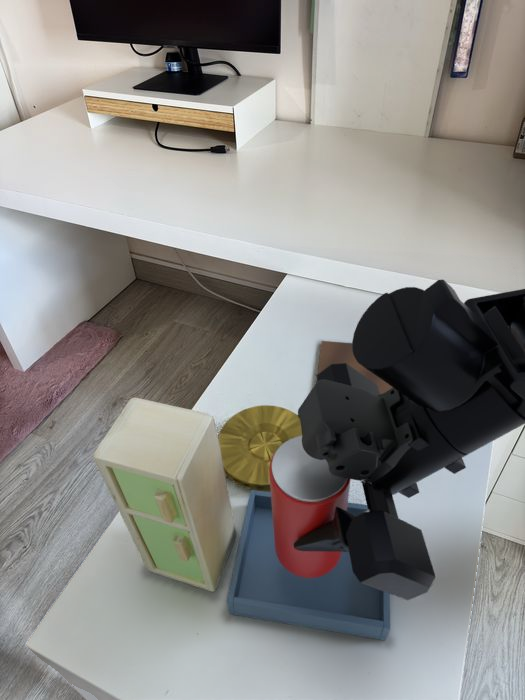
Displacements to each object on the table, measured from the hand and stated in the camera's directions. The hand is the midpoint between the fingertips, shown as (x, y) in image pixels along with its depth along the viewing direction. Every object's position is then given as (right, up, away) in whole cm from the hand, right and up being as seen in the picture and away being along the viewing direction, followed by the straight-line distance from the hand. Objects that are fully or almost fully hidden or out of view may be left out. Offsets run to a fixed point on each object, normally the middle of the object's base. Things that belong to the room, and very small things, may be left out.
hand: (293, 509), depth 44 cm
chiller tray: (+3, -9, +10) cm, 13 cm away
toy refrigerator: (-10, -9, +11) cm, 17 cm away
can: (+2, -5, +4) cm, 7 cm away
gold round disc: (-2, +1, +20) cm, 21 cm away
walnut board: (+13, +10, +29) cm, 33 cm away
